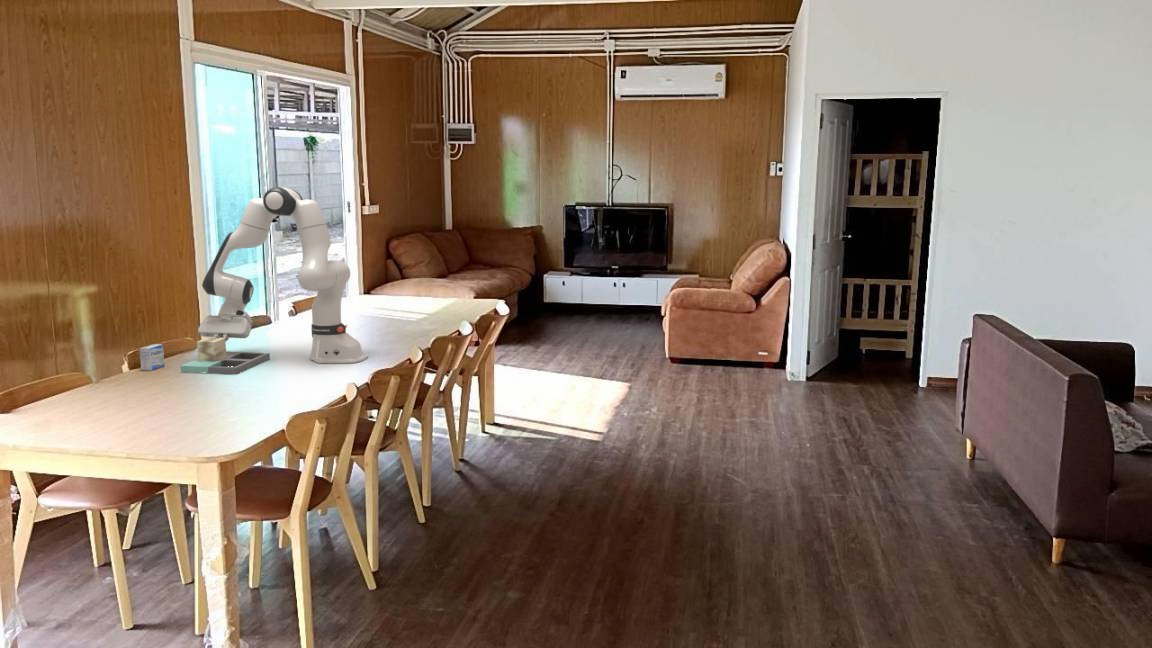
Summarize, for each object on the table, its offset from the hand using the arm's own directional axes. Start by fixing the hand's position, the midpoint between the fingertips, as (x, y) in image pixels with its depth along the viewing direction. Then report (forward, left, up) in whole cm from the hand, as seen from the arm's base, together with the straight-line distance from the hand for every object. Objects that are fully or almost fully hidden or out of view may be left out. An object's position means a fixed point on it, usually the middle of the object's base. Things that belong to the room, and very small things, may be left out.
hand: (218, 345), depth 346 cm
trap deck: (-6, +4, -7) cm, 10 cm away
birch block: (0, +5, -4) cm, 6 cm away
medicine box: (+19, +13, -7) cm, 25 cm away
